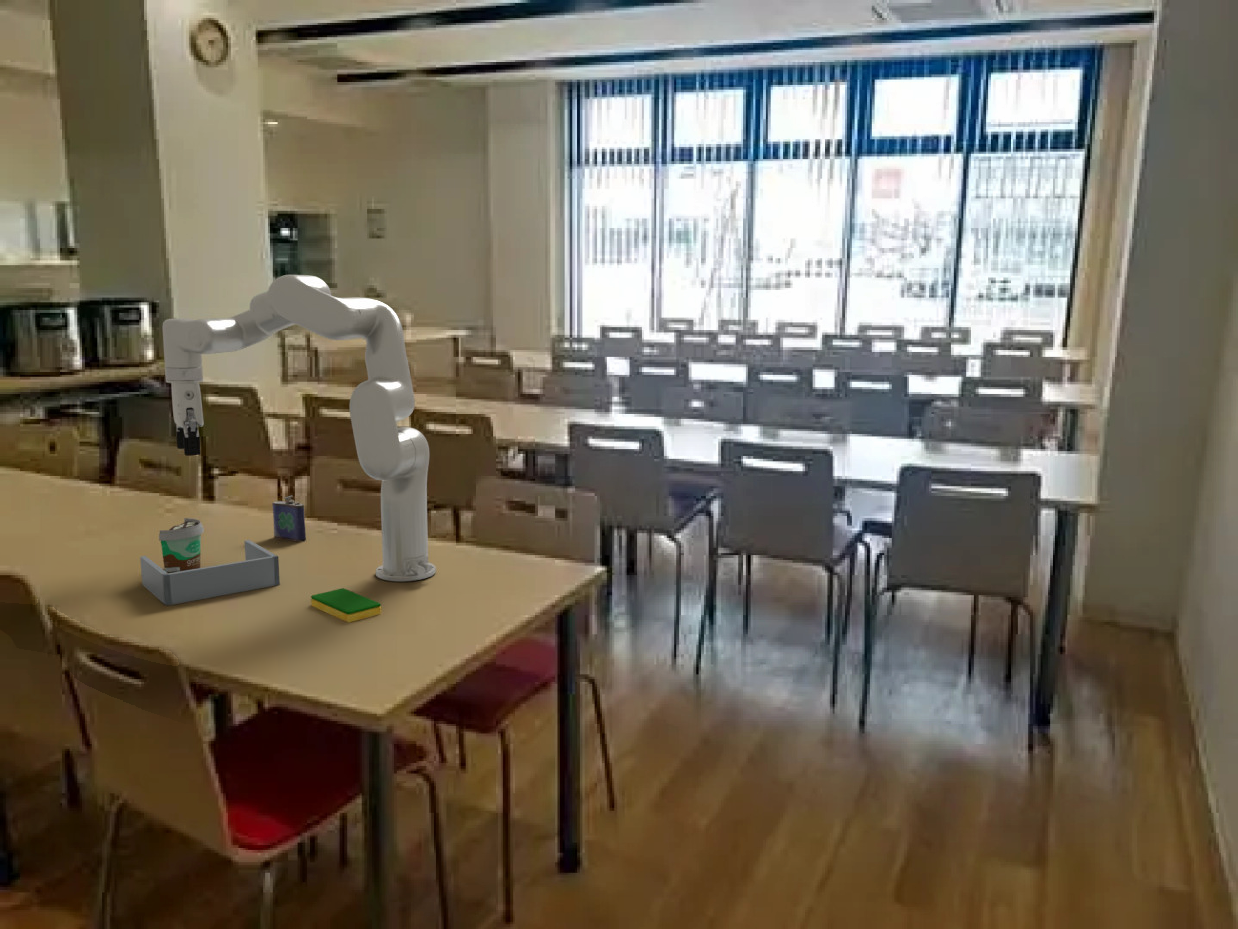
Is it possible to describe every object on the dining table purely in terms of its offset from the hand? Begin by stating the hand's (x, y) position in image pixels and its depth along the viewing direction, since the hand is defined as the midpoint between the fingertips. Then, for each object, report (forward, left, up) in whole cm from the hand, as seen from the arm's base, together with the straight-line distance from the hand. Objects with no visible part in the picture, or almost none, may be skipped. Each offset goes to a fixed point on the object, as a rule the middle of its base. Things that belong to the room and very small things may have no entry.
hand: (188, 451), depth 216 cm
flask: (+1, -23, -24) cm, 33 cm away
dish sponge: (-57, -11, -25) cm, 63 cm away
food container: (-11, +4, -24) cm, 27 cm away
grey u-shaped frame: (-25, +4, -24) cm, 35 cm away
